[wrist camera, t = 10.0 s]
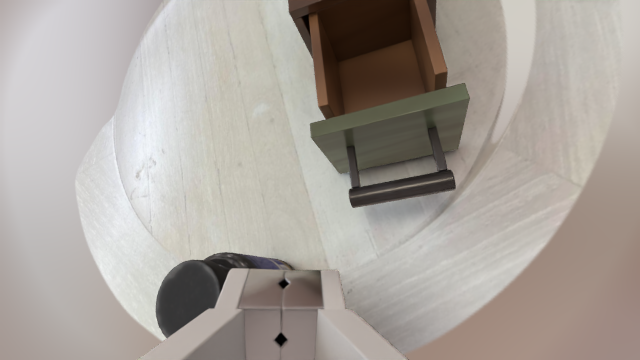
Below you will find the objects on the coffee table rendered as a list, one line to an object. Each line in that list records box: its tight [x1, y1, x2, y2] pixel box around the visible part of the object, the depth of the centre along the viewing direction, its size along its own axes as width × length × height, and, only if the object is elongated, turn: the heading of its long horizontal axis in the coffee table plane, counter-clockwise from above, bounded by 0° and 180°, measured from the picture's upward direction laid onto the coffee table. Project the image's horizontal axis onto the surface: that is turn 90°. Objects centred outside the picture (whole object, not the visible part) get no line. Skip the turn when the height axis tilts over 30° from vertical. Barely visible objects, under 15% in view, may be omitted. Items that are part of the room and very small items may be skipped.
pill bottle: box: [156, 252, 293, 338], centre depth 23 cm, size 6×6×11 cm
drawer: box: [308, 0, 470, 208], centre depth 25 cm, size 17×10×8 cm, turn 5°
